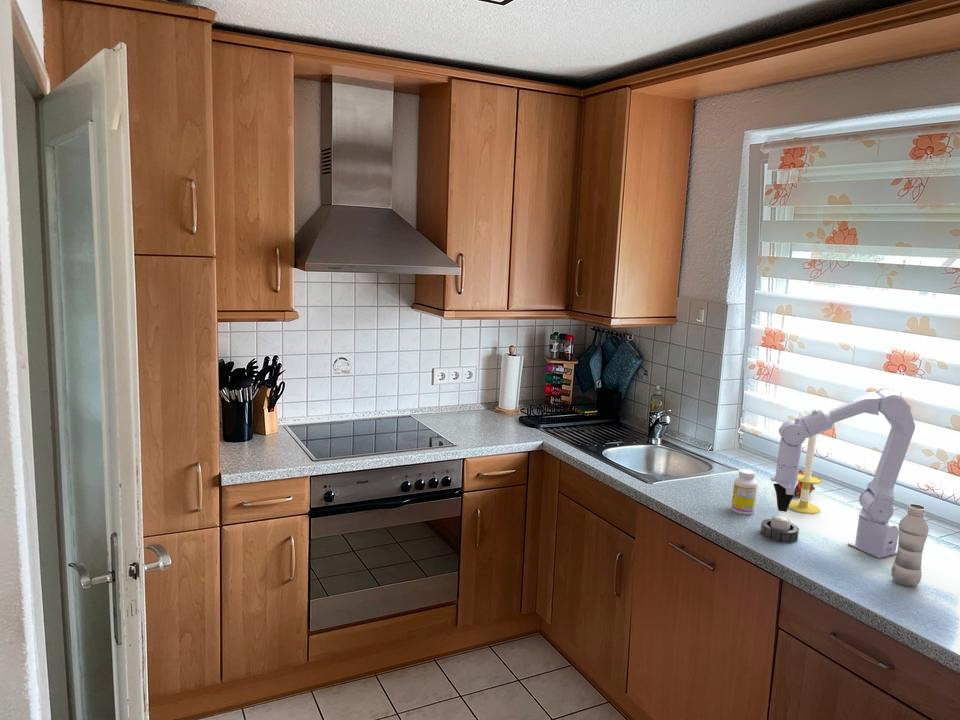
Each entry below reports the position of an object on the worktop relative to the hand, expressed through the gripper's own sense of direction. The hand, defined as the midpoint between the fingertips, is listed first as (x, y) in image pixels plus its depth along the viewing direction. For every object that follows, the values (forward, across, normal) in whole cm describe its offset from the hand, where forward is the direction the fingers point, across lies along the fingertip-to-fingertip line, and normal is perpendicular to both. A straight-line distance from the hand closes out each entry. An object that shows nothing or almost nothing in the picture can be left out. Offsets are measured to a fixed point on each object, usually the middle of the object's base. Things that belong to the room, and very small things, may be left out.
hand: (782, 510), depth 201 cm
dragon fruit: (+8, -39, +13) cm, 41 cm away
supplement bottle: (+8, -16, -8) cm, 20 cm away
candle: (+8, -26, +12) cm, 29 cm away
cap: (+8, 0, 0) cm, 8 cm away
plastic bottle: (+8, +21, +26) cm, 34 cm away
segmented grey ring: (+8, 0, 0) cm, 8 cm away
